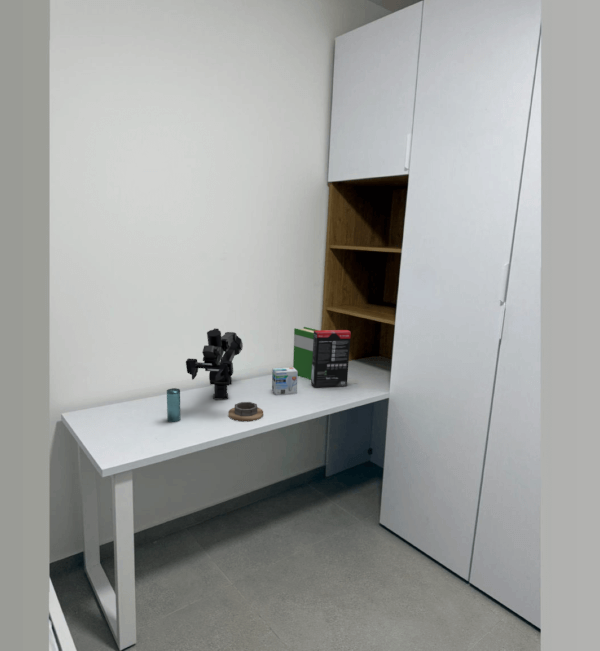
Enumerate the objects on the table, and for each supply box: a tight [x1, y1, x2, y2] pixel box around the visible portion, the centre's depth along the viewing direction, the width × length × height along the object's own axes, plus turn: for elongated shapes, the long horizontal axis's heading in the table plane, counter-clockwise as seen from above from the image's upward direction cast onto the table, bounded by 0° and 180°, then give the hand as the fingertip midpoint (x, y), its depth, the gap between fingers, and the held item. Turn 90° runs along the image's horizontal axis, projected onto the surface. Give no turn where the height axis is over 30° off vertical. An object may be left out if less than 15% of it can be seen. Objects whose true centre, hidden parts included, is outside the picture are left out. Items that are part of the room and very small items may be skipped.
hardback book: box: [292, 326, 317, 381], centre depth 254 cm, size 18×7×24 cm, turn 42°
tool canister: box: [166, 387, 182, 423], centre depth 194 cm, size 5×5×12 cm
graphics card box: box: [310, 329, 352, 388], centre depth 240 cm, size 17×7×27 cm, turn 105°
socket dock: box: [227, 401, 264, 422], centre depth 202 cm, size 14×14×4 cm
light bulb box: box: [271, 366, 298, 396], centre depth 230 cm, size 11×7×11 cm, turn 108°
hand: (203, 379), depth 195 cm, fingers open, 9 cm apart
